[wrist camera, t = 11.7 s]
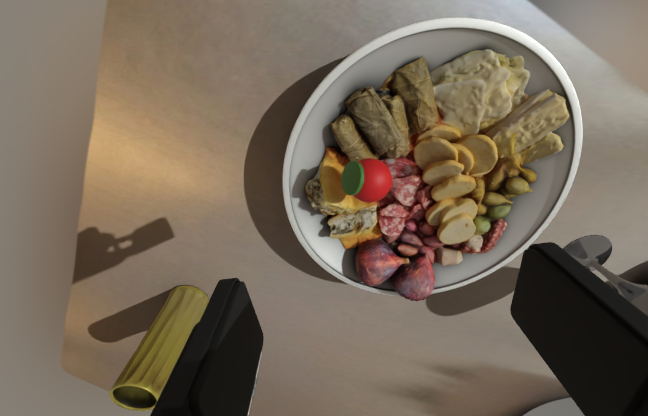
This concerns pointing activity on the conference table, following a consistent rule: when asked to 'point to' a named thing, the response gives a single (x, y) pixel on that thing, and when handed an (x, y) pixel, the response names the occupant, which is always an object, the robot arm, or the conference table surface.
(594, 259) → the wine glass
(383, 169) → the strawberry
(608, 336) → the robot arm
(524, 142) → the bowl
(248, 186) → the conference table surface
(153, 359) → the vase
